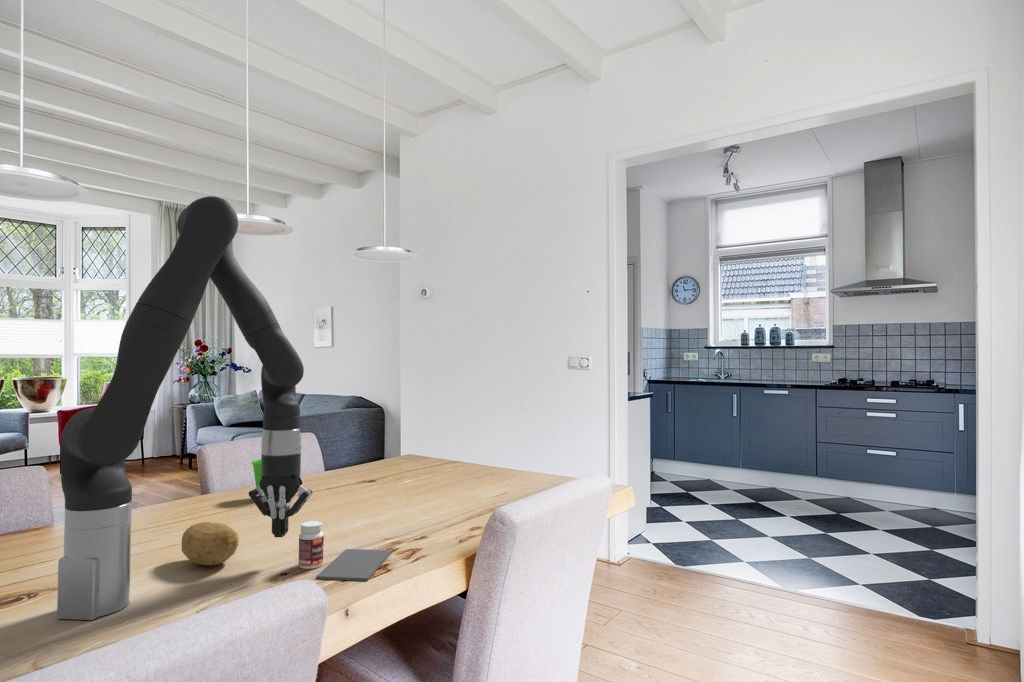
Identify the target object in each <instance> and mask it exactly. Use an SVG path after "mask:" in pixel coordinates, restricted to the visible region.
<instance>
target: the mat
mask: <svg viewBox="0 0 1024 682" xmlns="http://www.w3.org/2000/svg"><path fill="white" fill-rule="evenodd" d="M391 554H392V550H391V549H390V550H388V549H387V550H386V549H362V548H361V549H358V548H356V549H355V548H345V550H343V551H342V552H341V553H340V554H339V555H338V556H336V558H335V559H333V560H332V561H331V562H330V563H329V564H327V566H326V567H325V568H324V569H322V571H320V572H319V573H318V574H317V575H316V576H315V580H335V581H358V582H360V581H362V582H364V581H365V582H368V581H369V580H370V579H371V578H372V576H374V574H375V573H376V572H377V571H378V570H379V568H380V567H381V566H382V565H383V564H384V562H385V561H386V560H387V559H388V558H389V557H390V555H391Z"/></svg>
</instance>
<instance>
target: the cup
mask: <svg viewBox="0 0 1024 682" xmlns="http://www.w3.org/2000/svg"><path fill="white" fill-rule="evenodd" d="M251 464H252V467H253V473H254V481H255V488H257V487H258V486H259V482H260V480H261V478H262V474H261V459H255V460H251ZM264 496H265V497H266V499H267V500H268V501H269V499H268V498H267V496H266V495H265V494H264Z"/></svg>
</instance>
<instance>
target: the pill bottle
mask: <svg viewBox="0 0 1024 682" xmlns="http://www.w3.org/2000/svg"><path fill="white" fill-rule="evenodd" d="M322 529H323V522H321V521H317V520H310V521H309V520H308V521H305V522H302V523H301V524H300V532H301V533H299V535H298V567H299V568H300V569H303V570H313V569H316V568H317V569H318V568H320V567H321V566H323V564H324V539H325V538H324V537H325V536H324V532H323V531H322Z"/></svg>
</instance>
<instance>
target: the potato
mask: <svg viewBox="0 0 1024 682" xmlns="http://www.w3.org/2000/svg"><path fill="white" fill-rule="evenodd" d="M239 539H240V538H239V535H238V533H237V531H236V530H235V529H234V528H232V527H231V526H229V525H227V524H225V523H221V522H210V521H202V522H199V523H195V524H192V525H190V526H189V527H188V528H187V529H186V530H185V531H184V532H183V534H182V536H181V551H182V554H183V555H184V556H185V557H186V558H187V559H188V560H189V562H191V563H194V564H197V565H202V566H206V567H207V566H209V567H210V566H211V567H212V566H217V565H220V564H223V563H225V562H227V560H229V558H231V557H232V556H233V555H234V554H235V553H236V551H237V549H238V546H239Z"/></svg>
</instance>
